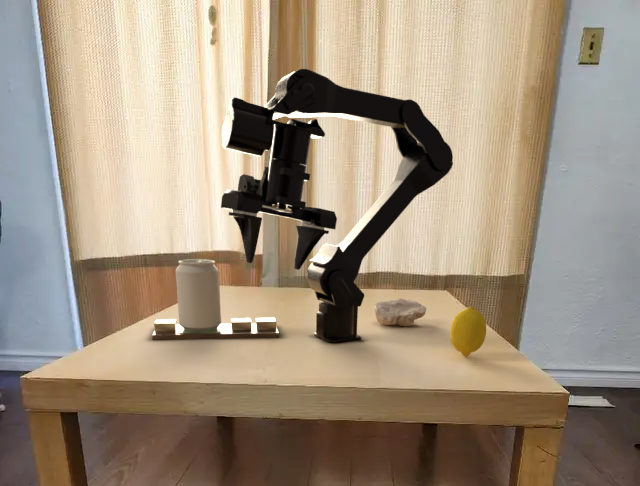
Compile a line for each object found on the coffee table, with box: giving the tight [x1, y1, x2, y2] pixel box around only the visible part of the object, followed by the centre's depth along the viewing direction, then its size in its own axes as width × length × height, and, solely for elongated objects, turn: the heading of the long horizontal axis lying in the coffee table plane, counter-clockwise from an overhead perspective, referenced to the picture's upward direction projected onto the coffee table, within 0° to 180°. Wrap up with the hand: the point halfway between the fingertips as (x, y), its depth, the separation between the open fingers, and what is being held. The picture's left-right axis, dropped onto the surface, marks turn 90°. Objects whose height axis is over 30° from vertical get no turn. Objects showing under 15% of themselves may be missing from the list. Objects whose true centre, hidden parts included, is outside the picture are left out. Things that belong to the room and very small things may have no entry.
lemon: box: [449, 305, 487, 357], centre depth 91 cm, size 6×6×8 cm
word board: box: [151, 317, 280, 341], centre depth 105 cm, size 22×9×2 cm, turn 99°
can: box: [175, 258, 222, 332], centre depth 102 cm, size 8×8×12 cm
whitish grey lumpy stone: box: [374, 298, 427, 327], centre depth 115 cm, size 9×6×10 cm
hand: (273, 266), depth 94 cm, fingers open, 9 cm apart
